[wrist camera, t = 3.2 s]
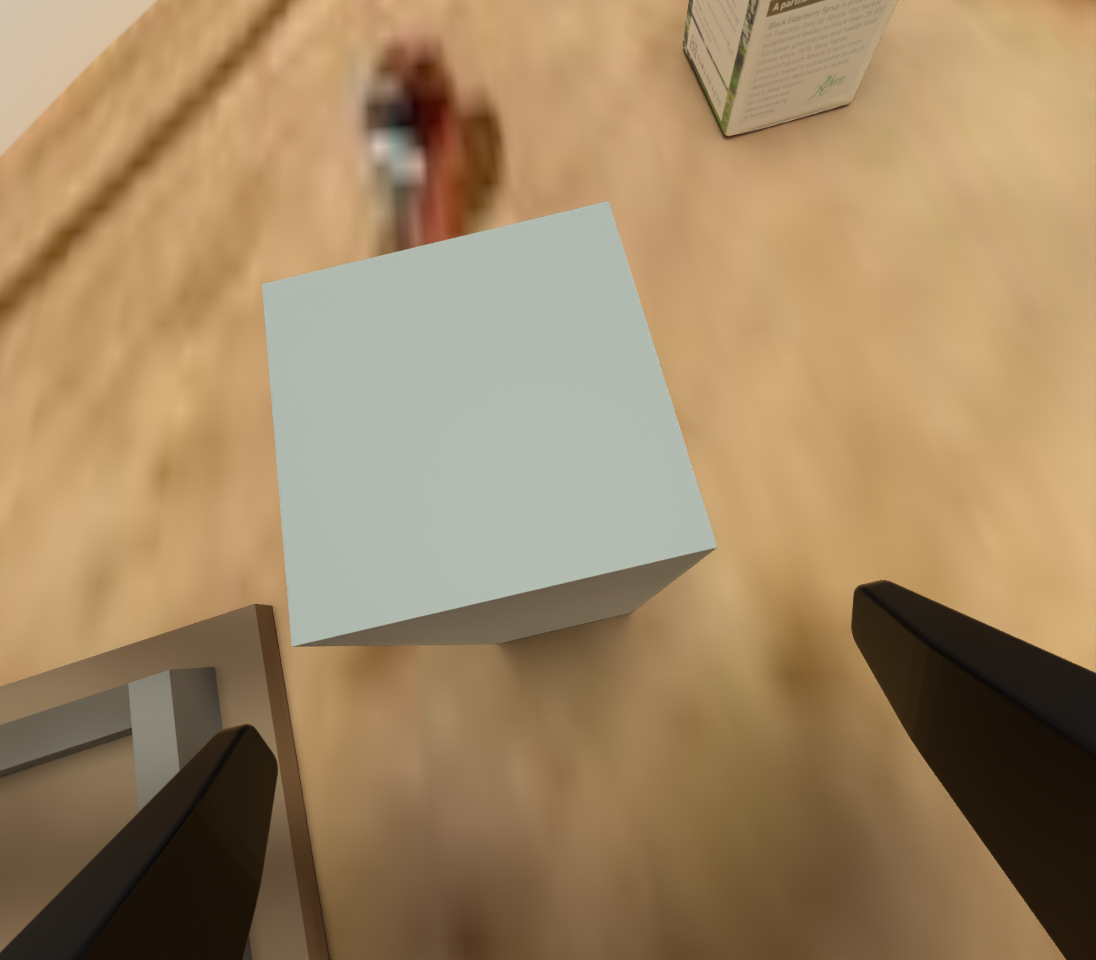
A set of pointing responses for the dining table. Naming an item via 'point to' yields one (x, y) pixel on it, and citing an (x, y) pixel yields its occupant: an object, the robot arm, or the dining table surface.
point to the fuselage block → (476, 440)
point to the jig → (148, 766)
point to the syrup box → (781, 56)
